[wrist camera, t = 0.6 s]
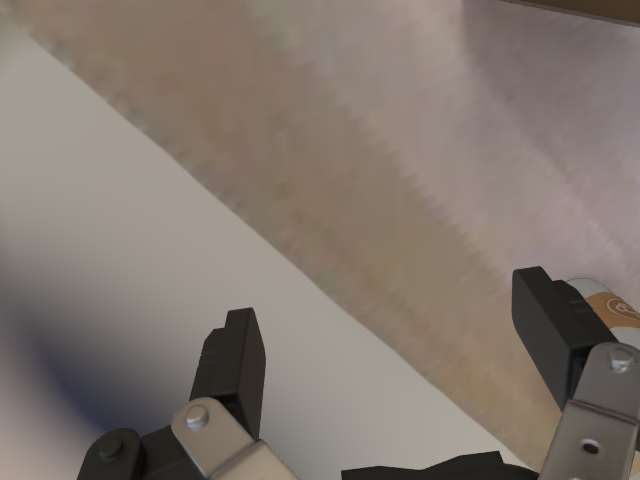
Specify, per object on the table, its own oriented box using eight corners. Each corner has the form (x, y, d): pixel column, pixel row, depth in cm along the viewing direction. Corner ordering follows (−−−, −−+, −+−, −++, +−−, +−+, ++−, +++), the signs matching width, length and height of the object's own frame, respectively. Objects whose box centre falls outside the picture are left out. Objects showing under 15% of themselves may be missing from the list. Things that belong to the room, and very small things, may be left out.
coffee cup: (634, 282, 50) (757, 393, 37) (583, 346, 54) (679, 469, 40) (563, 255, 48) (666, 362, 35) (516, 323, 52) (593, 444, 38)
